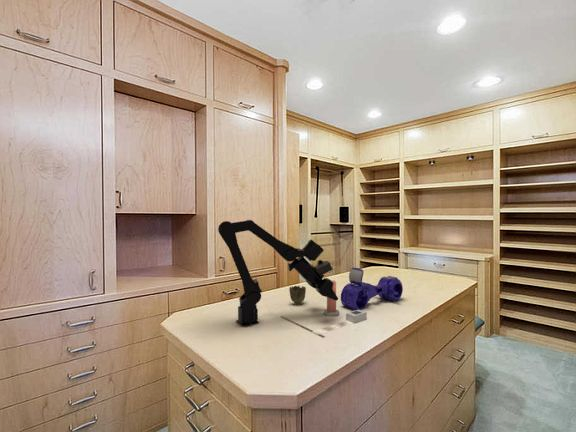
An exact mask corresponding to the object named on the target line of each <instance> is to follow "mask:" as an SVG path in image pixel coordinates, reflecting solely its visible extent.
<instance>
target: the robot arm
mask: <svg viewBox="0 0 576 432" xmlns="http://www.w3.org/2000/svg"><path fill="white" fill-rule="evenodd" d="M217 231H218V234H219V236H220V237H221V238H222V240H223V242H224V243H225V245H226V246H227V248H228V250H229V252H230V255H231V257H232V260H233V262H234V265H235V267H236V269H237V271H238V275H239V277H240V279H241V282H242V286H243V291H244V292H243V294H241V296H240V297H239V298H238V299H239V300H238V301H239V305H238V306H237V320H236V321H235V322H236V323H237V324H239V325H241V326H242V327H243V328H245V327H249V326H253V325H257V324H260V321H259V316H258V315H259V314H258V313H259V311H258V305H257V304H258V303H259V302H260V301H261V299H262V293H263V290H262V288H261V286H260V285H259V280H258V279H257V278H255V279H254V278H253V277H252V276H251V274H250V272H249V268H248V266H247V264H246V261H245V258H244V256H243V254H242V251H241V248H240V246H239V242H238V239H237V234H236V233H241V232H243V233H244V232H247V231H248V232H250V233H252V234H253V235H255V236H256V237H257V238H259V239H260V240H261V241H263V242H265V243H266V244H267V245H269V246H270V247H271V248H273V250H274V251H275V252H276V253H277V254H278V255H279V256H280V257H281V258H282V259H284V260H285V261H287V270H288V271H289V272H291V271H293V270H295V272H297V273H298V275H300V276H301V277H302V278H303V279H304V280H305V283H307V284H308V285H309V286H310V287H312V288H313V289H315V291H317V293H318V294H320V295H321V297H325V298H327V297H328V298H331V299H333V300H336V302H337V301H338V300H339V297H338V296H337V293H336V294H335V292H334V291H333V289H332V288H333V284H334V283H333V282H332V281H331V280H332V279H330V278H328V277H325V275H326V274H327V273H329V272H332V271H333V270H334V269H333V266H332V264H331V261H328V260H324V261H323V260H322V259H319V260H317V259H318V258H319V257H320V255H322V253H323V252H324V248H323V247H322V246H321V245H320V244H318V243H316V241H314V240H313V239H309V240H308V242H307V243H306V244H305V245H304V246H303V247H302V248H300V247H299V248H298V247H297V248H295V247H294V246H292V245H290V244H288V243H286V242H283V241H282V240H279V239H278V238H276V237H275V236H274V235H272V234H271V233H269V232H268V231H267V230H265V229H264V228H263V227H261V225H258V224H257V223H255V221H254V220H252V219H246V220H242V221H235V222H231V221H229V220H225V221H222V222H220V224H219V226H218V229H217ZM316 260H317V262H316V265H315V266H314V265H312V264H311V262H315V261H316Z"/></svg>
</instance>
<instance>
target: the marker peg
mask: <svg viewBox="0 0 576 432" xmlns="http://www.w3.org/2000/svg"><path fill="white" fill-rule="evenodd" d="M330 280H331V281H332V282H333V283H334V284H333V288H332V289H333V291H334V292H335V294H336V295H337V281H336V280H332V279H330ZM323 315H324V316H325V317H330V318H331V317H332V318H334V317H339V316H340V310H339V309H337V301H336V300H333V299H331V298H328V297H326V309H323Z"/></svg>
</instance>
